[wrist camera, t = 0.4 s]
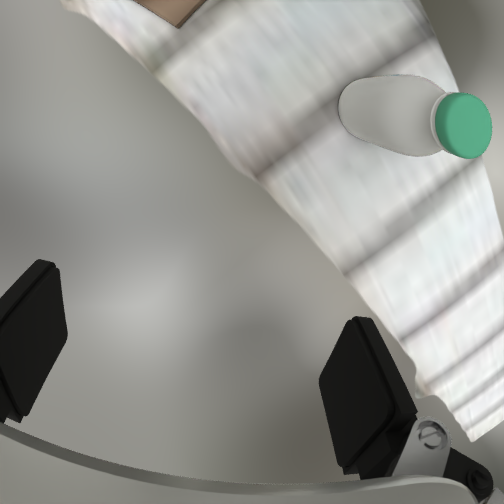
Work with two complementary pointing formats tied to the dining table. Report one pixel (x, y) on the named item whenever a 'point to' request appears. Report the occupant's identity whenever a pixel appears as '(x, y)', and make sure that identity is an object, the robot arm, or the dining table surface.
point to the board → (172, 9)
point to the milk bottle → (415, 116)
